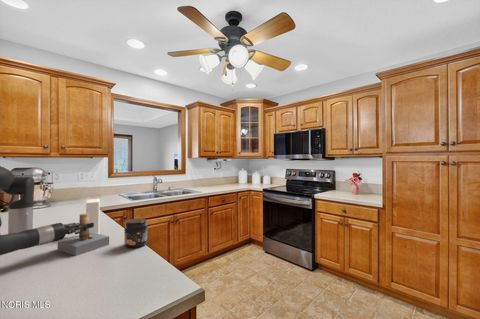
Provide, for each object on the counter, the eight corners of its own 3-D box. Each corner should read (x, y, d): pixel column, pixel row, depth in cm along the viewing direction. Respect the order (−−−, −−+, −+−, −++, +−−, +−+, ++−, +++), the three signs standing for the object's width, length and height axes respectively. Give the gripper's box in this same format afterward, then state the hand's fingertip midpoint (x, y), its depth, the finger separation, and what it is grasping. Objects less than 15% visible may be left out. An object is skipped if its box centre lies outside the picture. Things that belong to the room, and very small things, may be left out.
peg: (77, 243, 107) (77, 214, 107) (86, 241, 110) (86, 213, 111) (82, 245, 105) (82, 215, 105) (91, 242, 109) (91, 213, 109)
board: (57, 249, 104) (57, 241, 104) (90, 239, 118) (90, 232, 118) (76, 255, 98) (76, 246, 98) (109, 244, 111) (109, 236, 111)
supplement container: (118, 247, 108) (119, 222, 108) (136, 240, 118) (136, 217, 118) (135, 250, 104) (135, 224, 104) (152, 242, 114) (152, 219, 114)
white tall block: (98, 235, 125) (99, 196, 125) (85, 237, 122) (86, 197, 122) (99, 232, 130) (99, 194, 130) (86, 234, 127) (87, 195, 127)
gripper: (58, 227, 92) (99, 218, 107) (40, 223, 98) (82, 215, 113) (57, 245, 92) (99, 233, 107) (40, 240, 98) (81, 229, 113)
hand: (90, 224), depth 110 cm, fingers closed on peg, 4 cm apart
